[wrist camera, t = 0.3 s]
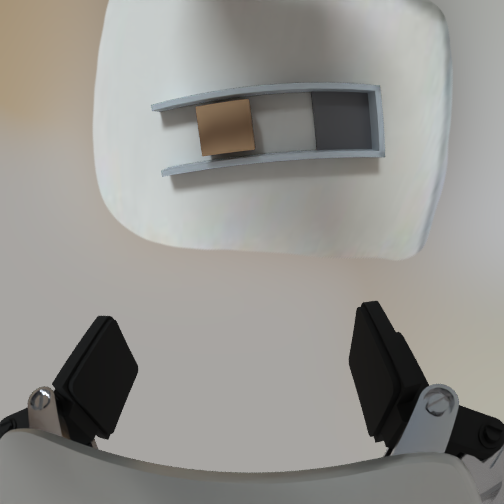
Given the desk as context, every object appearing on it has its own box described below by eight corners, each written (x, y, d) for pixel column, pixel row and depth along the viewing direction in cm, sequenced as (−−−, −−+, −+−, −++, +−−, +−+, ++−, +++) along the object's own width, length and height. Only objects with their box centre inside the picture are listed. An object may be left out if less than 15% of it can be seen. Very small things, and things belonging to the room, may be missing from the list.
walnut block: (204, 109, 32) (195, 106, 27) (249, 103, 31) (248, 98, 27) (209, 152, 34) (202, 156, 30) (255, 147, 34) (254, 149, 29)
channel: (159, 106, 31) (151, 104, 28) (371, 88, 29) (379, 85, 26) (169, 172, 35) (162, 176, 33) (376, 154, 33) (385, 157, 30)
